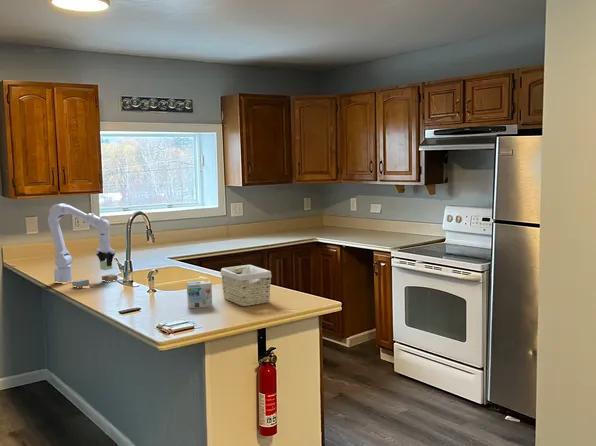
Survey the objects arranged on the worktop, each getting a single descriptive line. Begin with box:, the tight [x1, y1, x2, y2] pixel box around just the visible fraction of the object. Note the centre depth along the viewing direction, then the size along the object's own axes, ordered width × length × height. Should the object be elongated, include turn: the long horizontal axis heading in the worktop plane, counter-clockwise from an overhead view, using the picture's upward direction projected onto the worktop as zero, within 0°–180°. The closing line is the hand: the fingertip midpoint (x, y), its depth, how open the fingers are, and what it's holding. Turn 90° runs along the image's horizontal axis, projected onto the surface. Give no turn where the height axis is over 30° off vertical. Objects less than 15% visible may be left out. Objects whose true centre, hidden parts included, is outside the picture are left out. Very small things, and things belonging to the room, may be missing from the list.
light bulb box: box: [186, 280, 213, 309], centre depth 262 cm, size 11×7×11 cm, turn 106°
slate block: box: [71, 279, 90, 287], centre depth 311 cm, size 6×6×4 cm
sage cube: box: [99, 260, 113, 271], centre depth 323 cm, size 4×4×4 cm
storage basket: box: [220, 264, 273, 307], centre depth 270 cm, size 24×16×15 cm
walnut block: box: [101, 274, 119, 281], centre depth 325 cm, size 6×6×4 cm
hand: (106, 265), depth 323 cm, fingers closed on sage cube, 4 cm apart
